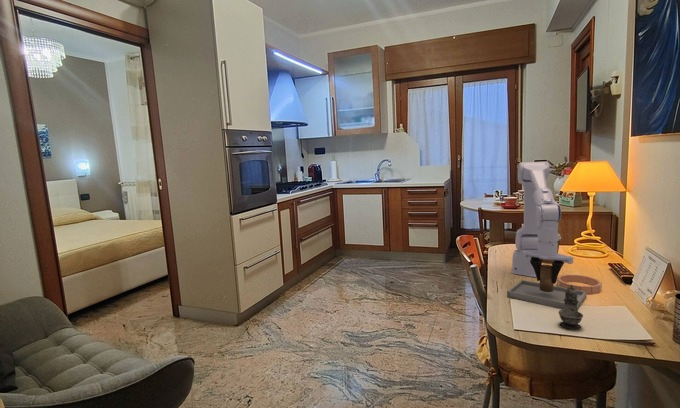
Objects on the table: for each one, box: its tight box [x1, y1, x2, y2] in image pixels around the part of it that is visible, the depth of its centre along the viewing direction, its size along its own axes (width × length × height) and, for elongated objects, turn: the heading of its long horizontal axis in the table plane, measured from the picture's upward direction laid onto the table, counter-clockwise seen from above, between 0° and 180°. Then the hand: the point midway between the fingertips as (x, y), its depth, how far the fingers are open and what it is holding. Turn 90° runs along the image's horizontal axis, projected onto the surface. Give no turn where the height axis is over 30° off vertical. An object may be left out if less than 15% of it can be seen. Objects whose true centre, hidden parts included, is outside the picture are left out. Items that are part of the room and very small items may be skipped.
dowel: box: [539, 264, 555, 292], centre depth 125 cm, size 4×4×8 cm
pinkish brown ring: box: [556, 274, 603, 295], centre depth 133 cm, size 13×13×2 cm
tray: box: [506, 279, 587, 311], centre depth 126 cm, size 20×14×2 cm
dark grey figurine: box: [558, 284, 584, 331], centre depth 105 cm, size 6×6×12 cm
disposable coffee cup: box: [536, 233, 562, 264], centre depth 163 cm, size 10×10×12 cm
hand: (546, 281), depth 125 cm, fingers closed on dowel, 4 cm apart
